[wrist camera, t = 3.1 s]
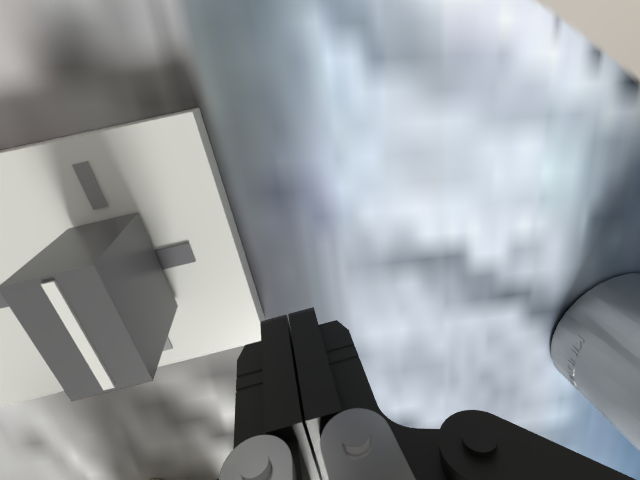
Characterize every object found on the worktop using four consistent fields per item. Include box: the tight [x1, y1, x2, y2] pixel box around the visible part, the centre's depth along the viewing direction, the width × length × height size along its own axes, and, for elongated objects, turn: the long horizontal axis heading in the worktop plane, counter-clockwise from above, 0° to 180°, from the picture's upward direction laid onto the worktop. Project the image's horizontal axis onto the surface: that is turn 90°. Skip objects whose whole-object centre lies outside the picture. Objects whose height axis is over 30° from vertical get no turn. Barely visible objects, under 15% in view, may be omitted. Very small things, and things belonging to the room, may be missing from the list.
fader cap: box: [0, 212, 178, 401], centre depth 15 cm, size 3×5×5 cm, turn 11°
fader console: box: [0, 108, 265, 407], centre depth 18 cm, size 22×12×2 cm, turn 101°
